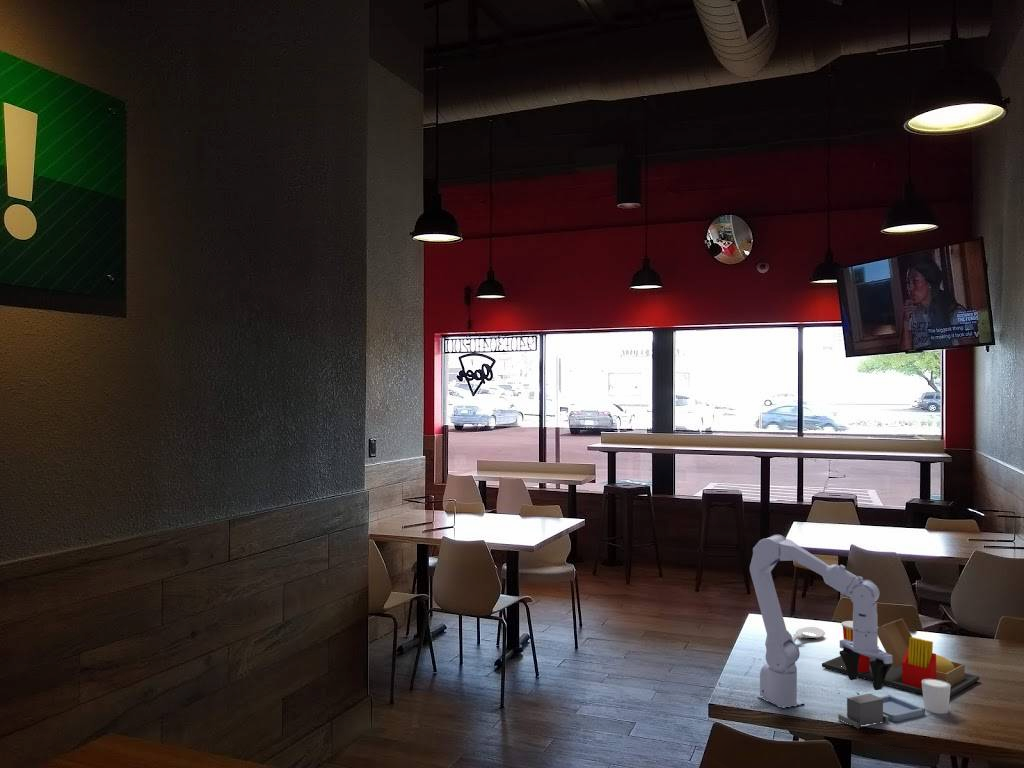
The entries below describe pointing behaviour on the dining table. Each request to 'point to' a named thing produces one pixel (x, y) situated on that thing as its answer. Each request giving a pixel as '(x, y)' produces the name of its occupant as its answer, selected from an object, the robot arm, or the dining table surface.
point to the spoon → (814, 630)
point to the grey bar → (865, 709)
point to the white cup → (936, 695)
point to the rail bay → (855, 722)
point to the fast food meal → (907, 660)
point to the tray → (900, 709)
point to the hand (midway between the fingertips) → (865, 684)
